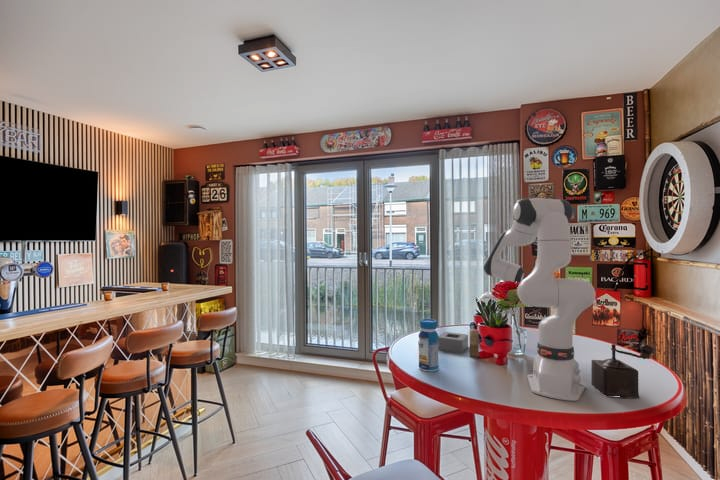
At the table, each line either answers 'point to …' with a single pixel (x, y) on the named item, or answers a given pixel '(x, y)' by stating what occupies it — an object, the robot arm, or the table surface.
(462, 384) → the table surface
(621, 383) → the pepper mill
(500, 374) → the table surface
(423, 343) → the beverage bottle
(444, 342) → the charcoal socket
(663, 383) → the table surface
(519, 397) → the table surface
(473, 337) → the walnut peg
